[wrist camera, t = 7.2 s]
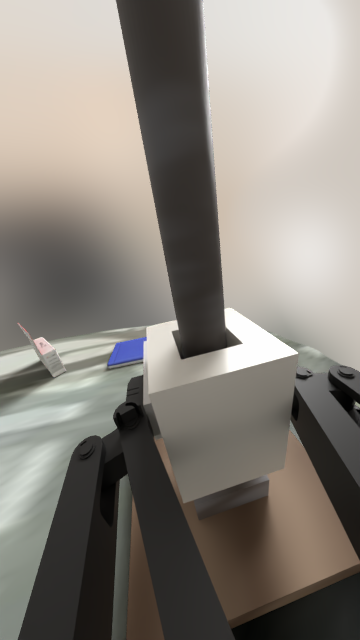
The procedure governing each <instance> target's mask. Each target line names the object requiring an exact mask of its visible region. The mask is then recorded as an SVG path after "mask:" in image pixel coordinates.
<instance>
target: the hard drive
mask: <svg viewBox="0 0 360 640" xmlns="http://www.w3.org/2000/svg"><path fill="white" fill-rule="evenodd" d="M144 341H147V337H144V338H139V339H134V340H130V341H125V342H120V343H116V345H115V348H114V350H113V353H112V355H111V357H110V359H109V362H108V368H109V369H110V368H115V367H120V366H125V365H129V364H134V363H139V362H144Z"/></svg>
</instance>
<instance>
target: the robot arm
mask: <svg viewBox="0 0 360 640" xmlns="http://www.w3.org/2000/svg"><path fill="white" fill-rule="evenodd" d="M355 402H357V403H359V404H360V372H359V371H357V370H355V369H353V368H351V367H347V366H343V365H334V366H331V367H330V369H329V373H313V372H312V371H311V370H309V369H307V368H304V367H297V371H296V379H295V387H294V395H293V403H292V411H291V421H292V423H293V426H294V428H295V430H296V432H297V434H298V436H299V438H300V440H301V442H302V444H303V446H304V448H305V450H306V452H307V454H308V456H309V458H310V460H311V462H312V464H313V466H314V468H315V470H316V473H317V475H318V477H319V479H320V481H321V483H322V485H323V487H324V489H325V491H326V493H327V495H328V497H329V499H330V501H331V503H332V505H333V507H334V509H335V511H336V513H337V515H338V518H339V520H340V522H341V524H342V526H343V528H344V530H345V532H346V534H347V536H348V538H349V540H350V542H351V544H352V546H353V548H354V550H355V552H356V554H357V556H358V558H359V560H360V408H359V407H357V406H356V405H355ZM113 419H114V422H115V424H116V426H117V429H116V430H115V431H113V432H112V433H110V434H109V435H107V436H105V437H104V438H102V439H101V438H100V437H99V436H96V435H95V436H90V437H88V438H86V439H84V440H83V441H82V442H81V443H79V445H78V446H77V447H76V448H75V450H74V452H73V454H72V456H71V460H70V463H69V467H68V470H67V473H66V477H65V480H64V484H63V487H62V491H61V494H60V497H59V501H58V504H57V508H56V511H55V514H54V518H53V521H52V525H51V528H50V532H49V535H48V538H47V542H46V545H45V549H44V552H43V555H42V559H41V562H40V566H39V569H38V573H37V576H36V579H35V583H34V586H33V590H32V593H31V596H30V600H29V603H28V607H27V610H26V613H25V617H24V620H23V624H22V627H21V631H20V634H19V637H18V640H111V636H112V617H113V597H114V578H115V559H116V539H117V520H118V501H119V481H120V479H121V478H122V477H124V476H125V475H127V474H128V475H129V480H130V485H131V489H132V494H133V498H134V503H135V507H136V512H137V517H138V521H139V526H140V530H141V535H142V539H143V544H144V548H145V553H146V558H147V562H148V567H149V571H150V576H151V580H152V585H153V589H154V594H155V599H156V603H157V608H158V612H159V617H160V621H161V626H162V631H163V635H164V640H235V638H234V636H233V633H232V631H231V628H230V626H229V623H228V621H227V618H226V616H225V613H224V611H223V608H222V606H221V604H220V601H219V599H218V596H217V594H216V591H215V589H214V586H213V584H212V581H211V579H210V576H209V574H208V572H207V569H206V567H205V564H204V562H203V559H202V557H201V554H200V552H199V549H198V547H197V544H196V542H195V540H194V537H193V535H192V532H191V530H190V527H189V525H188V522H187V520H186V517H185V515H184V512H183V510H182V507H181V505H180V503H179V500H178V498H177V495H176V493H175V490H174V488H173V485H172V483H171V480H170V478H169V475H168V473H167V471H166V468H165V466H164V463H163V461H162V458H161V456H160V453H159V451H158V448H157V446H156V443H155V441H154V437H155V440H158V439H161V438H162V435H161V432H160V428H159V425H158V422H157V419H156V416H155V413H154V410H153V407H152V403H151V400H150V397H149V392H148V360H147V341H144V362H143V375H142V376H138V377H134V378H131V380H130V382H129V383H128V388H127V397H126V402H124V403H122V404H121V405H120V406H119V407H118V408H117V409H116V410H115V412H114V415H113Z"/></svg>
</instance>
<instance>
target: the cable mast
mask: <svg viewBox="0 0 360 640" xmlns="http://www.w3.org/2000/svg"><path fill="white" fill-rule="evenodd" d="M116 2H117V8H118V13H119V18H120V24H121V29H122V34H123V39H124V45H125V50H126V55H127V60H128V65H129V71H130V76H131V82H132V87H133V92H134V97H135V102H136V108H137V113H138V118H139V124H140V129H141V134H142V139H143V145H144V150H145V155H146V160H147V165H148V171H149V176H150V181H151V187H152V192H153V197H154V203H155V207H156V213H157V218H158V224H159V229H160V234H161V239H162V244H163V250H164V255H165V260H166V265H167V271H168V276H169V281H170V287H171V292H172V297H173V302H174V308H175V313H176V318H177V324H178V329H179V334H180V339H181V345H182V350H183V355H184V359H186V358H190V357H194V356H198V355H202V354H206V353H210V352H213V351H217V350H221V349H225V348H227V340H226V326H225V311H224V298H223V284H222V271H221V270H222V268H221V254H220V241H219V240H220V239H219V225H218V212H217V197H216V182H215V167H214V153H213V139H212V124H211V110H210V96H209V82H208V68H207V52H206V39H205V24H204V9H203V0H116ZM154 441H155V443H156V446H157V448H158V451H159V453H160V456H161V458H162V461H163V463H164V466H165V468H166V471H167V473H168V475H169V478H170V480H171V483H172V485H173V488H174V490H175V493H176V495H177V498H178V500H179V503H180V505H181V507H182V510H183V512H184V515H185V517H186V520H187V522H188V525H189V527H190V530H191V532H192V535H193V537H194V540H195V542H196V544H197V547H198V549H199V552H200V554H201V557H202V559H203V562H204V564H205V567H206V569H207V572H208V574H209V576H210V579H211V581H212V584H213V586H214V589H215V591H216V594H217V596H218V599H219V601H220V604H221V606H222V608H223V611H224V613H225V616H226V618H227V621H228V623H229V626H230V628H231V629H232V628H234V627H236V626H239V625H241V624H243V623H245V622H248V621H250V620H252V619H254V618H257V617H259V616H261V615H264V614H266V613H268V612H270V611H273V610H275V609H277V608H279V607H282V606H284V605H286V604H288V603H291V602H293V601H295V600H297V599H300V598H302V597H304V596H306V595H309V594H311V593H313V592H316V591H318V590H320V589H322V588H325V587H327V586H329V585H331V584H334V583H336V582H338V581H340V580H343V579H345V578H347V577H349V576H352V575H354V574H356V573H358V572H360V560H359V558H358V556H357V554H356V552H355V550H354V548H353V546H352V544H351V542H350V540H349V538H348V536H347V534H346V532H345V530H344V528H343V526H342V524H341V522H340V520H339V518H338V515H337V513H336V511H335V509H334V507H333V505H332V503H331V501H330V499H329V497H328V495H327V493H326V491H325V489H324V487H323V485H322V483H321V481H320V479H319V477H318V475H317V473H316V470H315V468H314V466H313V464H312V462H311V460H310V458H309V456H308V454H307V452H306V450H305V448H304V447H303V446H302V444H301V443H300V442H299V441H298V440H297V438H296V437H295V436H294V435H293V433H292V432H291V431H290V430H289V435H288V443H287V451H286V459H285V467H284V469H281V470H278V471H275V472H273V473H270V474H267V475H264V476H261V477H258V478H255V479H252V480H250V481H247V482H244V483H241V484H238V485H235V486H232V487H230V488H227V489H224V490H221V491H218V492H215V493H212V494H209V495H207V496H204V497H201V498H198V499H195V500H192V501H189V502H187V503H183V500H182V497H181V494H180V491H179V488H178V485H177V481H176V478H175V475H174V472H173V469H172V466H171V463H170V460H169V457H168V453H167V450H166V447H165V444H164V441H163V438H161V439H158V440H155V437H154ZM126 640H164V635H163V631H162V626H161V621H160V617H159V612H158V608H157V603H156V599H155V594H154V589H153V585H152V580H151V576H150V571H149V567H148V562H147V558H146V553H145V548H144V544H143V539H142V535H141V530H140V526H139V521H138V517H137V512H136V507H135V503H134V498H133V502H132V524H131V545H130V567H129V589H128V610H127V632H126Z"/></svg>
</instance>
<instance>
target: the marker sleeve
mask: <svg viewBox="0 0 360 640" xmlns="http://www.w3.org/2000/svg"><path fill="white" fill-rule="evenodd" d="M224 311H225V326H226V340H227V348H225V349H221V350H217V351H213V352H210V353H206V354H202V355H198V356H194V357H190V358H186V359H184V355H183V350H182V345H181V339H180V334H179V329H178V324H177V320H174V321H170V322H166V323H161V324H157V325H153V326H148V327H147V360H148V392H149V397H150V400H151V403H152V407H153V410H154V413H155V416H156V419H157V422H158V425H159V428H160V432H161V435H162V438H163V441H164V444H165V447H166V450H167V453H168V457H169V460H170V463H171V466H172V469H173V472H174V475H175V478H176V481H177V485H178V488H179V491H180V494H181V497H182V500H183V503H187V502H189V501H192V500H195V499H198V498H201V497H204V496H207V495H209V494H212V493H215V492H218V491H221V490H224V489H227V488H230V487H232V486H235V485H238V484H241V483H244V482H247V481H250V480H252V479H255V478H258V477H261V476H264V475H267V474H270V473H273V472H275V471H278V470H281V469H284V467H285V459H286V451H287V443H288V435H289V427H290V419H291V411H292V403H293V395H294V387H295V379H296V371H297V363H298V355H299V353H298V352H296V351H295V350H293V349H292V348H290V347H289V346H287V345H286V344H284V343H283V342H281V341H280V340H278V339H277V338H275V337H274V336H272V335H271V334H269V333H268V332H266V331H265V330H263V329H262V328H260V327H259V326H257V325H256V324H254V323H253V322H251V321H250V320H248V319H247V318H245V317H244V316H242V315H241V314H239V313H238V312H236V311H235V310H233V309H232V308H227V309H224Z"/></svg>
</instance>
